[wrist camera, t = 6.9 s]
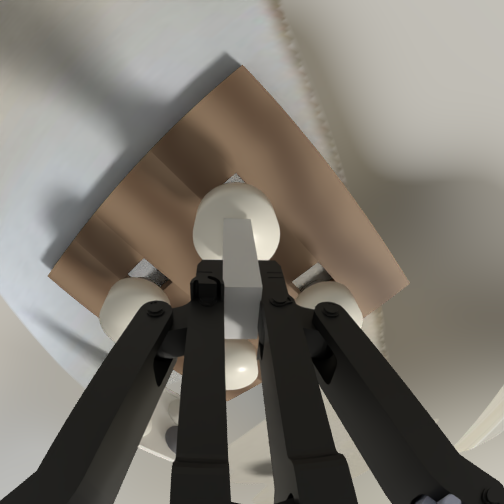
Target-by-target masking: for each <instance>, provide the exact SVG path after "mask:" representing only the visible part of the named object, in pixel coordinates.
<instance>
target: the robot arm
mask: <svg viewBox="0 0 504 504" xmlns="http://www.w3.org/2000/svg"><path fill="white" fill-rule="evenodd" d="M190 296H191V301H190V302H189V303H187V304H185V305H183V306H180V307H176V308H172V307H171V305H169V304H168V303H167V302H164V301H157V300H155V301H149V302H147V303H145V304H143V305H142V306H141V307H140V309H139V310H138V311H137V313H136V314H135V316H134V317H133V319H132V320H131V321H130V323H129V324H128V326H127V327H126V329H125V330H124V332H123V333H122V335H121V336H120V338H119V339H118V341H117V342H116V343H115V345H114V346H113V348H112V349H111V351H110V352H109V354H108V355H107V357H106V358H105V360H104V362H103V363H102V365H101V366H100V368H99V369H98V371H97V372H96V374H95V375H94V377H93V378H92V380H91V382H90V383H89V385H88V386H87V388H86V389H85V391H84V393H83V394H82V396H81V398H80V399H79V400H78V402H77V404H76V405H75V407H74V409H73V410H72V412H71V413H70V415H69V417H68V418H67V420H66V422H65V423H64V425H63V427H62V428H61V430H60V432H59V433H58V435H57V437H56V438H55V440H54V442H53V443H52V445H51V447H50V449H49V450H48V452H47V454H46V456H45V458H44V459H43V461H42V463H41V464H40V466H39V468H38V470H37V471H36V472H35V473H33V474H32V475H31V476H30V477H29V478H27V479H26V480H25V481H24V482H23V483H21V484H20V485H19V486H18V487H17V488H15V489H14V490H13V491H12V492H10V493H9V494H8V495H7V496H6V497H4V498H3V499H2V500H1V501H0V504H113V503H114V501H115V499H116V496H117V494H118V492H119V489H120V487H121V484H122V482H123V480H124V478H125V476H126V473H127V471H128V469H129V466H130V464H131V462H132V459H133V457H134V455H135V453H136V450H137V448H138V446H139V444H140V441H141V439H142V437H143V435H144V432H145V430H146V428H147V426H148V423H149V421H150V419H151V417H152V415H153V412H154V410H155V408H156V406H157V403H158V401H159V399H160V397H161V395H162V392H163V390H164V388H165V386H166V384H167V382H168V379H169V377H170V375H171V373H172V371H173V368H174V366H175V364H176V362H177V358H178V357H181V356H184V363H183V373H182V384H181V394H180V406H179V418H178V431H177V446H176V458H175V460H174V462H173V465H172V473H171V492H170V504H238V503H234V502H231V495H230V474H229V462H228V443H227V416H226V382H225V339H257V336H258V337H259V341H258V350H257V359H256V360H259V363H260V371H261V379H262V387H263V396H264V404H265V413H266V421H267V429H268V438H269V446H270V454H271V462H272V470H273V478H274V487H275V493H274V504H358V502H357V498H356V494H355V490H354V486H353V482H352V478H351V474H350V470H349V467H348V463H347V461H346V458H345V457H344V455H343V454H340V453H338V452H337V451H336V448H335V445H334V441H333V437H332V433H331V429H330V425H329V421H328V418H327V414H326V410H325V406H324V403H323V399H322V395H321V391H320V388H319V385H320V387H321V389H322V390H323V392H324V394H325V395H326V397H327V399H328V400H329V402H330V404H331V405H332V407H333V409H334V410H335V412H336V414H337V415H338V417H339V419H340V420H341V422H342V424H343V425H344V427H345V429H346V430H347V432H348V434H349V435H350V437H351V439H352V440H353V442H354V444H355V445H356V447H357V449H358V450H359V452H360V453H361V455H362V457H363V458H364V460H365V462H366V463H367V465H368V467H369V468H370V470H371V471H372V473H373V475H374V476H375V478H376V480H377V481H378V483H379V485H380V486H381V488H382V490H383V491H384V493H385V494H386V496H387V497H388V499H389V500H390V501H391V503H392V504H504V487H503V485H502V484H501V483H500V482H499V481H498V480H496V479H495V478H493V477H492V476H490V475H489V474H487V473H486V472H484V471H483V470H481V469H480V468H478V467H477V466H476V465H474V464H473V463H471V462H470V461H468V460H467V459H465V458H464V457H463V456H461V455H460V454H459V453H458V452H457V450H456V449H455V448H454V446H453V445H452V444H451V443H450V441H449V440H448V438H447V437H446V436H445V435H444V433H443V432H442V431H441V429H440V428H439V427H438V425H437V424H436V423H435V421H434V420H433V419H432V418H431V416H430V415H429V414H428V412H427V411H426V410H425V409H424V407H423V406H422V405H421V403H420V402H419V401H418V399H417V398H416V397H415V396H414V395H413V393H412V392H411V390H410V389H409V388H408V387H407V385H406V384H405V383H404V382H403V380H402V379H401V378H400V377H399V375H398V374H397V373H396V372H395V370H394V369H393V368H392V367H391V365H390V364H389V363H388V362H387V360H386V359H385V358H384V357H383V355H382V354H381V353H380V352H379V350H378V349H377V348H376V347H375V345H374V344H373V343H372V342H371V341H370V339H369V338H368V337H367V336H366V334H365V333H364V332H363V331H362V330H361V328H360V327H359V326H358V325H357V323H356V322H355V321H354V320H353V319H352V317H351V316H350V315H349V314H348V313H347V311H346V310H345V309H344V308H343V307H342V306H340V305H338V304H336V303H333V302H321V303H318V304H317V305H316V306H315V309H310V308H305V307H302V306H299V305H297V304H296V302H295V300H294V298H293V297H291V296H290V295H289V294H288V290H287V286H286V283H285V279H284V276H283V272H282V269H281V266H280V265H279V264H278V263H277V262H276V261H275V260H258V258H257V252H256V247H255V241H254V235H253V229H252V224H251V219H234V218H224V223H223V257H222V260H201V262H200V263H199V264H198V265H197V271H196V277H194V278H193V279H192V280H191V282H190Z"/></svg>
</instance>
